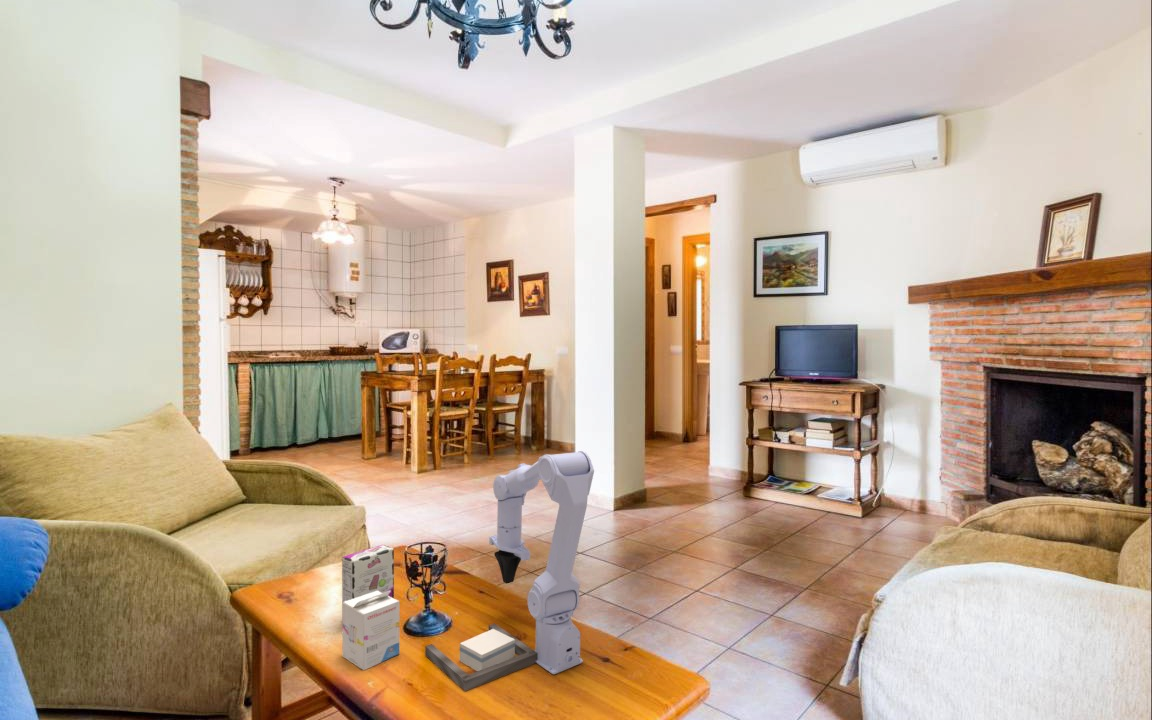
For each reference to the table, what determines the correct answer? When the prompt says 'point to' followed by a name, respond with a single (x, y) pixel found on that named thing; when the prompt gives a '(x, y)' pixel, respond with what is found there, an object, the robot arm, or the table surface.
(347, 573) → the candy bar box
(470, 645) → the carton
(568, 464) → the robot arm
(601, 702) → the table surface
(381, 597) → the ink box
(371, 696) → the table surface
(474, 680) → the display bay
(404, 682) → the table surface
